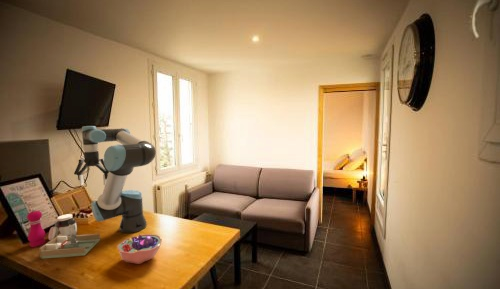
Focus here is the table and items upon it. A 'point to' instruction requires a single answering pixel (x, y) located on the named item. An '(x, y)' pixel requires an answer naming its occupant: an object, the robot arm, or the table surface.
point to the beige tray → (85, 246)
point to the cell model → (139, 248)
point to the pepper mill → (35, 229)
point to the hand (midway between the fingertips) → (93, 184)
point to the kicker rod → (71, 236)
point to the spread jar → (61, 226)
